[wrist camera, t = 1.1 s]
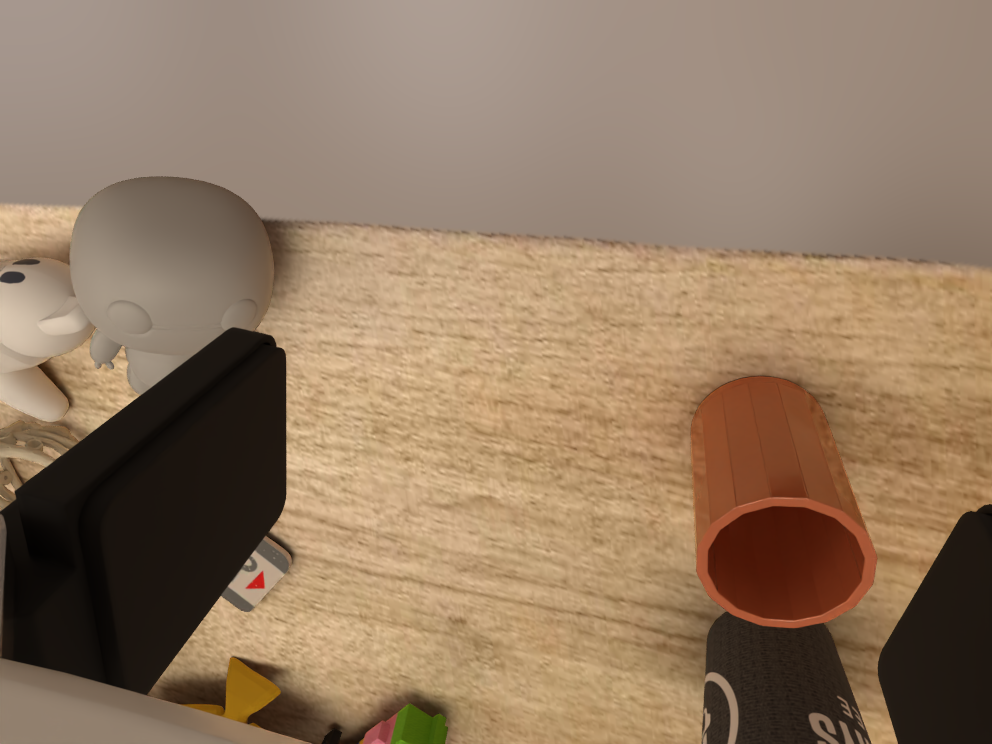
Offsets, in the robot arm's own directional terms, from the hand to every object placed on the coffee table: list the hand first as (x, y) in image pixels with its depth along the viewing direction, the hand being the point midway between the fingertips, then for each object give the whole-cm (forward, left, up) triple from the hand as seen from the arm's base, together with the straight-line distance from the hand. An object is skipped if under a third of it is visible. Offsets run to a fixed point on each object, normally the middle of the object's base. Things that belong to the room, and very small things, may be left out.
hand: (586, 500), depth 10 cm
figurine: (+26, 0, -20) cm, 33 cm away
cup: (0, +13, -22) cm, 26 cm away
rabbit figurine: (+43, -8, -20) cm, 48 cm away
